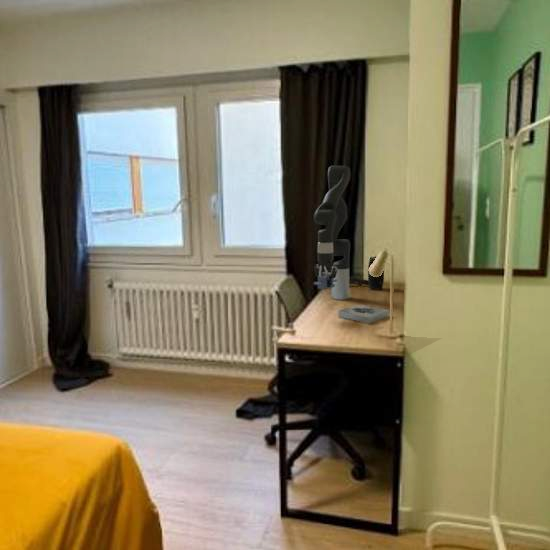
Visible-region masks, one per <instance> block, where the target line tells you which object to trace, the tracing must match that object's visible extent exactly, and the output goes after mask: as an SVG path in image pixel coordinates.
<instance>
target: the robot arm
mask: <svg viewBox="0 0 550 550" xmlns="http://www.w3.org/2000/svg"><path fill="white" fill-rule="evenodd" d="M350 179H351V168H350V167H349V166H346V165H330V166H329V167H328V170H327V180H328V181H327V183H328V191H327V193H326V194H325V196H324V198H323V201H322V203H321V204H320V205H319V206H318V208H317V209H316V210H315V212H314V214H313V220H314V221H313V222H315V224H316V225H321V226H322V225H324V226H325V225H327V228H324V229H320V230H318V232H317V262H318V263H317V264H313V271H314V273H315V276H316V278H318V276H322V275H327V279H328V280H327V287H331V286H332V279H337V281H335V282H333V284H335V287H332V288H330V289H331V296H330V297H331V298H333V299H334V300H340V301H341V300H348V299H350V283H349V277H350V266H351V265H350V259H351V258H350V257H351V256H350V255H351V254H350V253H351V241H350V239H343V238H342V239H338V238H337V237H338V234H339V232H340V230H341V229H342V228H343V226H344V225H345V223H346V221H347V219H348V206H347V203H346V202H345V200H344V199H343V197H342V194H343V193H344V192H345V189H346V188H347V186H348V184H349V182H350ZM334 257H342V259H340V260H337V261H334ZM329 276H330V277H329Z"/></svg>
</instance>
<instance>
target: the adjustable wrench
mask: <svg viewBox="0 0 550 550" xmlns="http://www.w3.org/2000/svg"><path fill="white" fill-rule="evenodd" d="M353 284H354V285H357V286H363V285H364V286H365V285H366V286H369V282H368V279H361V278H356V277H355V276H349V285H353Z"/></svg>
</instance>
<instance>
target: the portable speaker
mask: <svg viewBox="0 0 550 550" xmlns="http://www.w3.org/2000/svg"><path fill="white" fill-rule="evenodd" d="M375 258H376V256H372V257H371V256H370V257H369V262H368V266H367V268H368V269H369V267H370V265H371V264H372V263H373V261H374V260H375ZM367 280H368V282H369V285H368V287H369V289H370V290H371V291H377V290H383V287H384V281H385V270H384V271H383V273H382V275H381V276H379V277H373V276H371V275H370V274H369V271H368V270H367Z"/></svg>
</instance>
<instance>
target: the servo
mask: <svg viewBox="0 0 550 550" xmlns="http://www.w3.org/2000/svg"><path fill="white" fill-rule="evenodd" d="M329 277H330V276H329ZM327 280H328V279H327V275H326V274H324V275H322V276H318V277H317V281H314V282H313V285H315V286H317V289H318V290H328V289H331V288H332V287H335V284H333V282H335V281H337V279H332V286H331V287H327Z"/></svg>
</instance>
